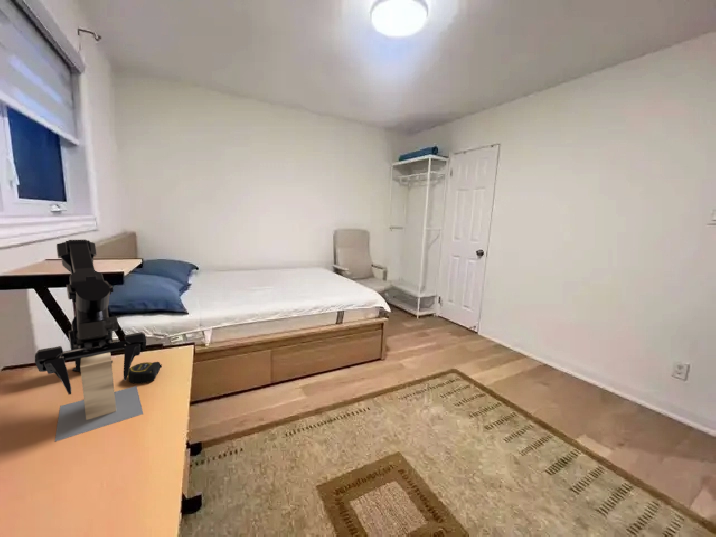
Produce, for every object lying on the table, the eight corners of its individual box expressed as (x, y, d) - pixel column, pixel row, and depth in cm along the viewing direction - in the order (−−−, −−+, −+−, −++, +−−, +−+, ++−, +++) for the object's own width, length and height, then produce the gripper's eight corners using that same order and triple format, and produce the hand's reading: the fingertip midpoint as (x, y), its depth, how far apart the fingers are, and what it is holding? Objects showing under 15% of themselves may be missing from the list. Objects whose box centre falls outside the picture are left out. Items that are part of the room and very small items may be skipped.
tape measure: (154, 384, 81) (153, 371, 80) (123, 388, 78) (122, 374, 78) (162, 372, 87) (161, 359, 86) (134, 374, 85) (133, 362, 84)
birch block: (86, 408, 69) (80, 358, 67) (115, 400, 72) (110, 352, 70) (86, 420, 65) (80, 367, 63) (116, 411, 68) (111, 360, 66)
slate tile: (60, 408, 69) (60, 405, 69) (136, 388, 78) (136, 385, 78) (55, 444, 59) (54, 441, 59) (143, 416, 68) (143, 413, 68)
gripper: (29, 313, 62) (28, 387, 55) (142, 299, 74) (152, 360, 67) (39, 337, 69) (39, 406, 63) (140, 322, 81) (149, 378, 75)
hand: (98, 386), depth 67 cm, fingers open, 9 cm apart
